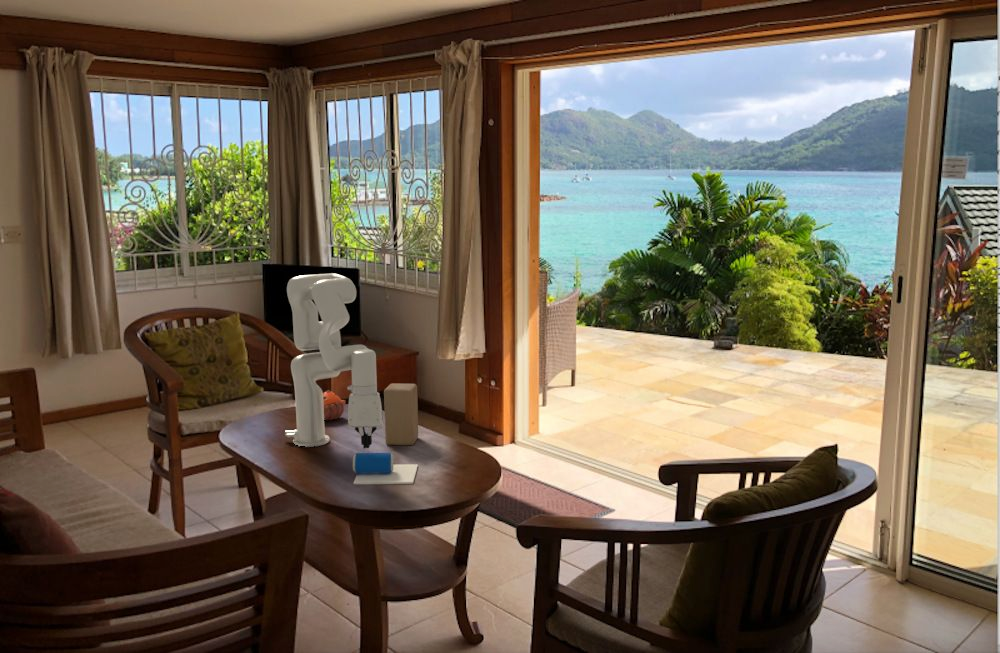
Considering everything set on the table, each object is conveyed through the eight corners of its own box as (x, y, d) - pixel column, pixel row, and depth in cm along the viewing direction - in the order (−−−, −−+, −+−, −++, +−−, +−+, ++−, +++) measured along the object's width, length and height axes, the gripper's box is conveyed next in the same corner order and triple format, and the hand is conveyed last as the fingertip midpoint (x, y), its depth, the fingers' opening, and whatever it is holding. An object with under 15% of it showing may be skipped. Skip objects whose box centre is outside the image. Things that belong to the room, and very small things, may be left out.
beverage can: (351, 471, 256) (390, 470, 256) (353, 450, 258) (391, 450, 259) (355, 476, 262) (393, 475, 262) (356, 456, 264) (394, 455, 265)
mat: (353, 484, 253) (353, 482, 253) (362, 466, 269) (361, 464, 269) (412, 483, 253) (412, 482, 253) (417, 466, 269) (417, 464, 269)
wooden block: (418, 437, 299) (417, 383, 295) (413, 446, 289) (411, 390, 285) (391, 436, 300) (389, 382, 296) (385, 445, 290) (383, 389, 286)
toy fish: (335, 414, 330) (333, 385, 328) (351, 419, 323) (349, 390, 321) (309, 420, 321) (307, 391, 319) (324, 425, 314) (323, 396, 312)
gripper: (337, 392, 252) (340, 451, 255) (387, 392, 252) (389, 450, 255) (342, 386, 260) (344, 443, 263) (390, 386, 260) (392, 443, 263)
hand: (366, 446), depth 259 cm, fingers closed
